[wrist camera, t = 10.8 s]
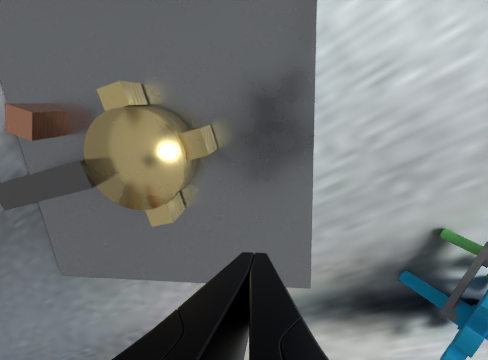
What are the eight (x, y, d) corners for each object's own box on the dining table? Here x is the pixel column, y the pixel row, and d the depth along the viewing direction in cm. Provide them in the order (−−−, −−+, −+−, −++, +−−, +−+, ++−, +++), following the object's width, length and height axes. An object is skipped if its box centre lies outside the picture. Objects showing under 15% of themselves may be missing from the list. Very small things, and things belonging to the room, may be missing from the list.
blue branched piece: (462, 367, 21) (440, 430, 14) (391, 312, 25) (346, 339, 18) (545, 253, 19) (566, 262, 12) (452, 214, 23) (427, 203, 16)
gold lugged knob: (192, 65, 17) (172, 57, 14) (232, 199, 20) (223, 217, 17) (9, 128, 21) (-39, 132, 18) (63, 234, 23) (29, 255, 20)
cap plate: (-13, -3, 19) (-85, -28, 15) (315, -51, 15) (326, -101, 12) (69, 269, 26) (33, 297, 22) (309, 280, 22) (314, 317, 19)
